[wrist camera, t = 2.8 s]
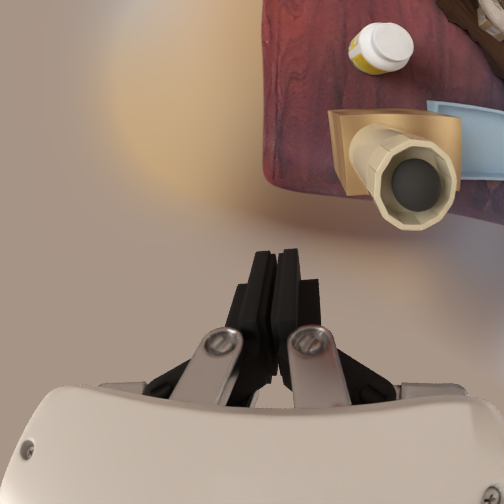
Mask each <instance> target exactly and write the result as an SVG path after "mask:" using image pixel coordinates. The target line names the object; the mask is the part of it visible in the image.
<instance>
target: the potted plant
mask: <svg viewBox="0 0 504 504" xmlns="http://www.w3.org/2000/svg"><path fill="white" fill-rule="evenodd" d="M436 3H437V5H438V6H439V7H440V8H442V9H443V10H444V13H445V15H446V16H447V18H448V22H453V23H456V24H458V25H459V26H460V27H461V28H462V29H467V31H468V32H469V34H470V36H471V39H472V40H473V41H474V42H475V41H478V42H479V44H480V45H481V46H482V48H483V50H484V52H485V55H486V57H487V60H488V62H489V64H490V66H491V68H492V70H493V72H494V74H495V75H497V76H499V77H501V78H503V79H504V0H439V1H437V2H436Z"/></svg>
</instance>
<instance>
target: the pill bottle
mask: <svg viewBox="0 0 504 504" xmlns="http://www.w3.org/2000/svg"><path fill="white" fill-rule="evenodd" d="M413 48H414V46H413V41H412V38H411V37H410V35H409V34H408V32H407V31H406V30H405V29H403V28H402V27H401V26H399V25H397V24H393V23H372V24H370V25H368V26H366V27H365V28H363V29H362V30H361V32H360V33H359V34H358V35H357V36H356V37H355V38H354V39H353V40H352V41H351V43H350V45H349V49H348V53H349V58H350V60H351V62H352V63H353V65H354V66H355V67H356V68H357V69H358V70H360V71H361V72H363V73H366V74H369V75H379V74H383V73H387V72H392V71H396V70H399V69H401V68H403V67H404V66H405V65H406V64H407V62H408V60H409V57H410V56H411V55H412V53H413Z"/></svg>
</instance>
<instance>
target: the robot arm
mask: <svg viewBox="0 0 504 504" xmlns="http://www.w3.org/2000/svg"><path fill="white" fill-rule="evenodd" d="M278 364H279V369H280V374H281V376H282V378H283V383H284V385H285V386H286V387H287V388H289V389H290V390H291V391H292V392H293V400H294V409H272V408H271V409H270V408H255V405H256V402H257V399H258V396H259V389H260V388H262V387H263V386H264V385H266V384H271V380H272V376H276V375H277V371H278ZM0 504H504V418H503V416H502V415H501V413H500V412H499V410H498V409H497V408H496V407H495V406H494V405H493V404H492V403H489V402H488V401H486V400H483V399H480V398H476V397H471V396H468V393H467V391H466V390H465V389H464V388H463V387H462V386H460V385H458V384H452V383H451V384H450V383H449V384H433V383H430V384H429V383H402V384H401V385H392V384H391V383H390V382H389V381H388V380H386V379H385V378H383V377H381V376H380V375H378V374H377V373H375V372H374V371H372V370H370V369H369V368H367V367H365V366H364V365H362V364H361V363H359V362H358V361H356V360H354V359H353V358H351V357H350V356H348V355H347V354H345V353H343V352H342V351H340V350H339V349H337V348H336V344H335V341H334V337H333V335H332V333H331V332H330V331H329V330H328V329H327V328H325V327H323V326H321V313H320V296H319V282H318V279H310V280H301V275H300V265H299V256H298V249H297V248H296V249H284V253H279V257H278V264H277V260H276V255H275V254H271V253H270V251H258V252H256V253H255V257H254V261H253V265H252V269H251V273H250V276H249V280H248V284H238V286H237V289H236V292H235V295H234V298H233V302H232V305H231V308H230V311H229V315H228V318H227V321H226V325H225V327H222V328H217V329H215V330H212V331H210V332H209V333H208V334H207V335H205V337H204V338H203V339H202V341H201V343H200V344H199V346H198V348H197V350H196V351H195V353H194V355H193V357H192V358H191V359H189V360H188V361H186V362H184V363H182V364H181V365H179V366H177V367H175V368H174V369H172V370H170V371H168V372H167V373H165V374H163V375H161V376H159V377H158V378H156V379H154V380H153V381H151V382H150V383H149V384H147V383H146V382H128V383H104V384H101V385H99V386H91V385H70V386H63V387H59V388H56V389H54V390H52V391H51V392H49V393H48V394H47V395H46V397H45V398H44V399H43V400H42V402H41V403H40V404H39V406H38V407H37V409H36V410H35V412H34V414H33V415H32V417H31V419H30V421H29V422H28V424H27V426H26V428H25V430H24V432H23V434H22V436H21V438H20V440H19V442H18V444H17V446H16V449H15V451H14V453H13V456H12V458H11V460H10V463H9V465H8V468H7V470H6V473H5V475H4V478H3V481H2V484H1V487H0Z"/></svg>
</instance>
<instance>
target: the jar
mask: <svg viewBox="0 0 504 504" xmlns="http://www.w3.org/2000/svg"><path fill="white" fill-rule="evenodd" d="M412 158H418V159H422V160H425V161H427V162H428V163H430V164H431V165H432V166H433V167H434V168H435V169H436V171H437V172H438V174H439V177H440V180H441V194H440V197H439V199H438V201H437V203H436V204H435V205H434V206H433V207H432V208H430V209H428V210H426V211H423V212H414V211H410V210H408V209H406V208H404V207H403V206H402V205H400V204H399V202H398V201H397V200H396V198H395V196H394V194H393V191H392V185H391V182H392V176H393V173H394V171H395V169H396V167H397V166H398V165H399V164H400V163H401V162H403V161H405V160H407V159H412ZM349 160H350V164H351V167H352V169H353V171H354V172H355V174H356V175H357V177H358V178H359V179H360V181H361V182H362V184H363V185H364V187H365V188H366V190H367V191H368V193H369V194H370V196H371V197H372V199H373V201H374V203H375V205H376V206H377V208H378V210H379V211H380V213H381V215H382V216H383V218H384V219H385V220H387V221H388V222H390V223H392V224H393V225H395V226H396V227H398V228H399V229H402V230H424V229H426V228H428V227H430V226H431V225H433V224H435V223H437V222H439V221H440V219H442V218H443V217H444V215H445V214H446V212H447V211H448V209H449V208H450V207H451V205H452V204H453V201H454V197H455V191H456V184H457V176H456V173H455V170H454V167H453V164H452V161H451V158H450V157H449V155H448V154H446V153H445V152H444V151H443V150H442V149H441V148H440V147H438V146H437V145H436V144H435V143H434V142H432V141H429V140H427V139H425V138H422V137H420V136H415V135H412V134H410V133H407V132H405V131H402V130H400V129H397V128H394V127H392V126H389V125H386V124H381V123H375V124H370V125H367V126H365V127H363V128H362V129H360V130H359V131H358V132H357V133H356V134H355V136H354V137H353V139H352V141H351V144H350V147H349Z"/></svg>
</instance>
